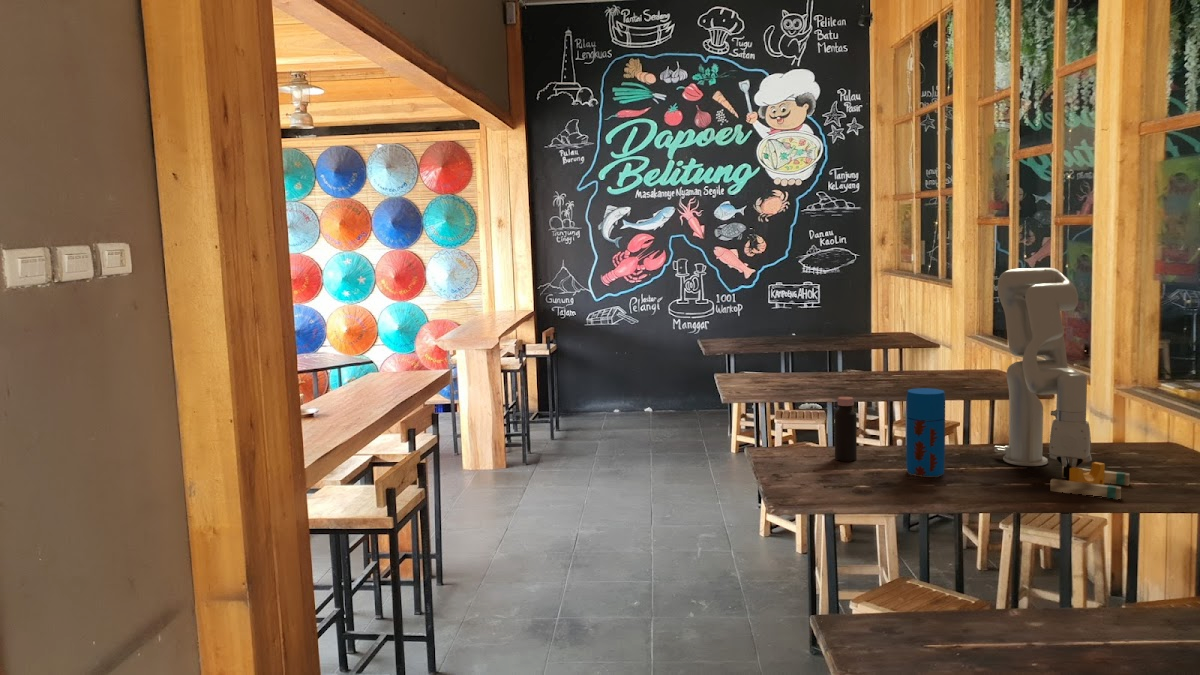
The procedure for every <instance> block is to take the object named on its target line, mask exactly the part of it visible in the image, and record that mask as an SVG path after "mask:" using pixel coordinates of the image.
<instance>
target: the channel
mask: <svg viewBox="0 0 1200 675" xmlns="http://www.w3.org/2000/svg"><path fill="white" fill-rule="evenodd" d="M1079 468H1080V469H1083V473H1087V472H1090V470H1091V468H1083V467H1079ZM1130 474H1131V473H1129V472H1124V471H1123V472H1122V471H1112V470H1111V471H1110V470H1105V475H1104V485H1101V484H1092V483H1084V482H1075V481H1067V480H1066V477H1064V476H1063V475H1064V467H1063V466H1062V467H1061V479H1057V478H1051V479H1050V490H1049V491H1050V492H1055V493H1062V492H1063V493H1065V494H1070V493H1072V495H1078V494H1082V495H1081V496H1086V495H1093V496H1092V497H1094V496H1102V497H1107V498H1106V499H1110V498H1113V499H1112V500H1118V499H1120V500H1121V499H1122V486H1129V485H1130V478H1131V477H1130ZM1110 483H1111V484H1110ZM1118 485H1119V486H1118ZM1102 497H1101V498H1102Z"/></svg>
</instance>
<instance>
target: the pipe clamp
mask: <svg viewBox="0 0 1200 675" xmlns="http://www.w3.org/2000/svg"><path fill="white" fill-rule="evenodd" d="M1080 468H1081V467H1076V468H1075V467H1073V468H1070V474H1069V481H1075V482H1084V483H1092V484H1101V485H1105V483H1104V475H1105V471H1106V470H1105V469H1106V463H1105V462H1104V463H1103V462H1098V461H1094V462H1091V467H1090V469H1091V470H1090V472H1087V473H1083V469H1080Z"/></svg>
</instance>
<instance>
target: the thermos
mask: <svg viewBox="0 0 1200 675" xmlns="http://www.w3.org/2000/svg"><path fill="white" fill-rule="evenodd" d="M945 393H946V392H945V390H943V389H938V388H930V387H929V388H928V387H926V388H923V387H922V388H920V387H919V388H911V389H908V390H907V392H906V472H907V471H908V472H909V473H911V474H916V475H922V476H938V475H942V474H944V475H945V464H946V463H945V461H946V394H945Z"/></svg>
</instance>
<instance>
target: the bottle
mask: <svg viewBox="0 0 1200 675" xmlns="http://www.w3.org/2000/svg"><path fill="white" fill-rule="evenodd" d="M854 403H855V402H854V397H852V396H838V397H837V407H838V409H837V410H836V411H835V412H834V458H835V460H836V459H837V460H836V461H839V460H840V461H839V462H853V461H852V460H854V461H856V460H857V459H858V458H857V457H858V455H857V454H858V453H857V452H858V451H857V450H858V448H857V446H858V444H857V440H858V438H857V435H858V434H857V433H858V432H857V431H858V430H857V424H858V423H857V415H858V414H857V413H856V411H855V410H854V409H853V407H854Z"/></svg>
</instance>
